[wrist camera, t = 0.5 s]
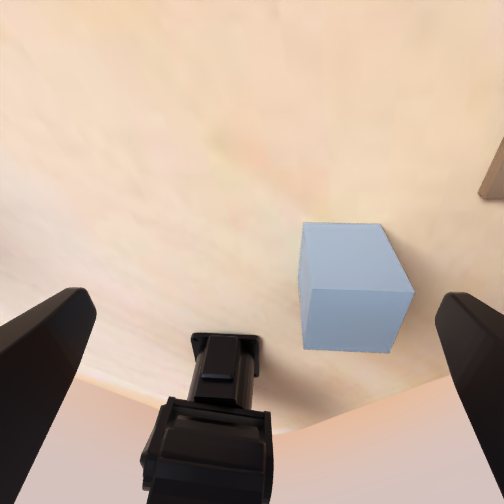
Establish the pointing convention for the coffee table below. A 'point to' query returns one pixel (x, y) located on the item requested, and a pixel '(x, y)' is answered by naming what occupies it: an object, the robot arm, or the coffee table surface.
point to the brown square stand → (494, 177)
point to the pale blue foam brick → (350, 288)
